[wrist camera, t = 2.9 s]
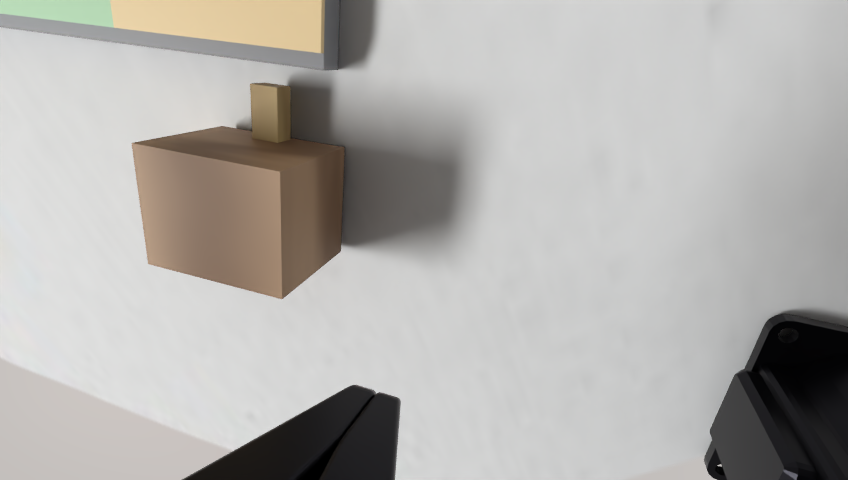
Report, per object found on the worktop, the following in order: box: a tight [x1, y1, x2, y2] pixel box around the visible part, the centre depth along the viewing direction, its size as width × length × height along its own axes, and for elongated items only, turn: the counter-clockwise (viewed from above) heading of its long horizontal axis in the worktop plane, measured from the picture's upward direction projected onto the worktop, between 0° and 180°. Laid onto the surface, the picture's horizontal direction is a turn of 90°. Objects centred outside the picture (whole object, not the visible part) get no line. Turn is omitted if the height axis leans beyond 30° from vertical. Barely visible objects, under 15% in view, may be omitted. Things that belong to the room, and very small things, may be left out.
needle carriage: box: [132, 83, 345, 299], centre depth 16 cm, size 5×6×4 cm
